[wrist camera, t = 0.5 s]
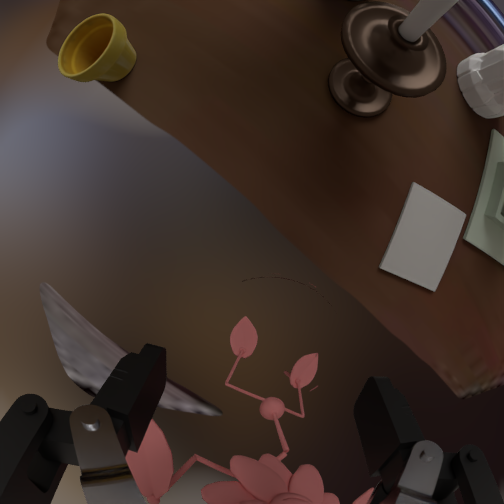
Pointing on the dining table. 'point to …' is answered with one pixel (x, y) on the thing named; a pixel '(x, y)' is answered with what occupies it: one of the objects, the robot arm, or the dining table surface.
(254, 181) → the dining table surface
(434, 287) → the grey mat
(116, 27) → the plant pot
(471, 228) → the tray
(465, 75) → the decorative vase
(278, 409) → the figurine
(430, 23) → the candlestick
